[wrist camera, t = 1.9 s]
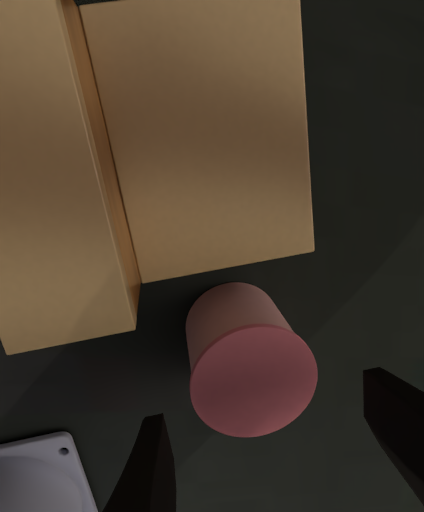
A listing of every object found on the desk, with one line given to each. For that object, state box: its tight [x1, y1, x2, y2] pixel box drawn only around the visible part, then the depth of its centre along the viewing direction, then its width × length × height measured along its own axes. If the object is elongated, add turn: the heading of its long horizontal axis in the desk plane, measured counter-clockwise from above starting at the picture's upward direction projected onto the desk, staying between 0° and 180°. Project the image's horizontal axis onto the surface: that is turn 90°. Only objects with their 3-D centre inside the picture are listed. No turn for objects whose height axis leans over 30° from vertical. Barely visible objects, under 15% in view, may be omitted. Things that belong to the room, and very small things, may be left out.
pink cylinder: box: [186, 282, 317, 437], centre depth 17 cm, size 5×5×5 cm
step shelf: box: [0, 0, 314, 355], centre depth 13 cm, size 10×12×6 cm
